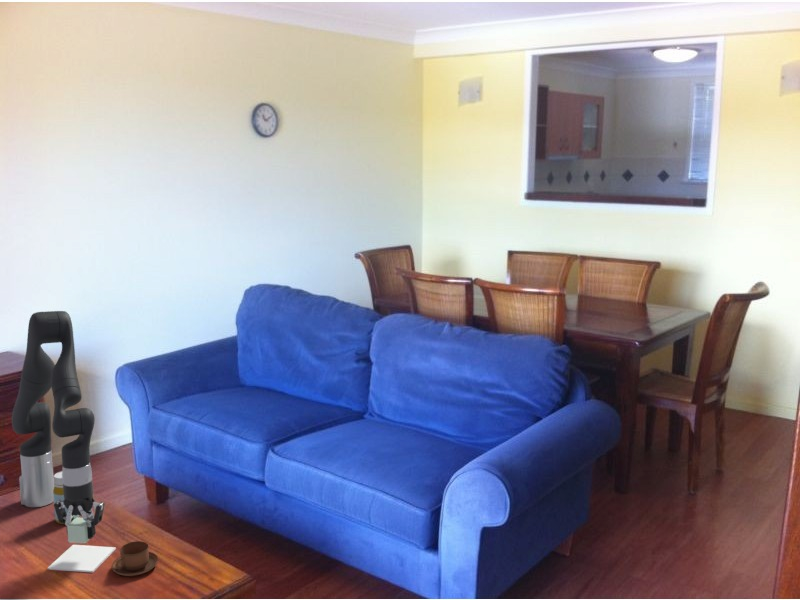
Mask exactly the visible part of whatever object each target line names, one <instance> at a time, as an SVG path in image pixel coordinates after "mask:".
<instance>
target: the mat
mask: <svg viewBox="0 0 800 600" xmlns="http://www.w3.org/2000/svg"><path fill="white" fill-rule="evenodd" d="M116 549H117V547H116V546H115V547H114V546H102V545H101V546H100V545H99V546H98V545H88V544H87V545H83V544H72V545H71V546H70V547H69V548H68V549H67V550H65V551H64V552H63V553H62V554H61V555H60V556H59V557H58V558H57V559H55V561H53V562H52V563H51V564H50V565H49V566H48V567H47V570H52V571H65V572H67V571H68V572H77V573H78V572H79V573H81V572H82V573H91V574H92V573H94V572H95V571H96V570H97V569H98V568H99V567H100V566H101V565H102V564H103V563H104V562H105V561H106V560H107V559H108V558H109V557H110V555H112V554H113V553H114V552H115V550H116Z"/></svg>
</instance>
